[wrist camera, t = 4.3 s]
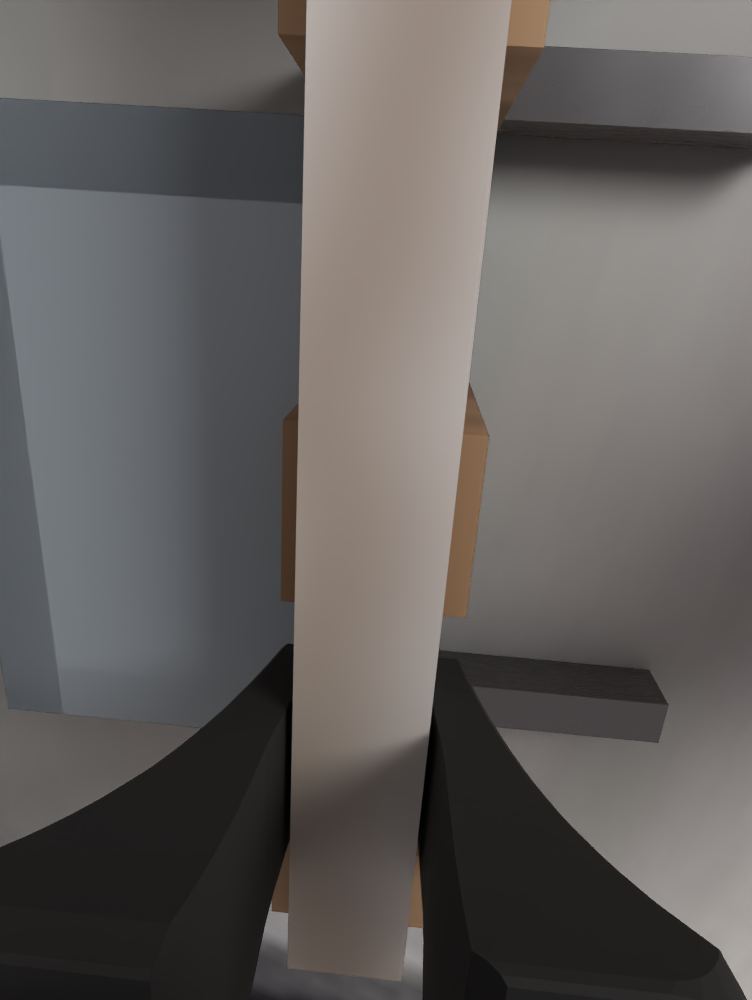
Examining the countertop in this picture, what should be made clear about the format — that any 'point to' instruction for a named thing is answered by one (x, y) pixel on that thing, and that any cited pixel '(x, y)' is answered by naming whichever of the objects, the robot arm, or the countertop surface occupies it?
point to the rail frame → (632, 118)
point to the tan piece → (383, 437)
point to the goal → (144, 403)
